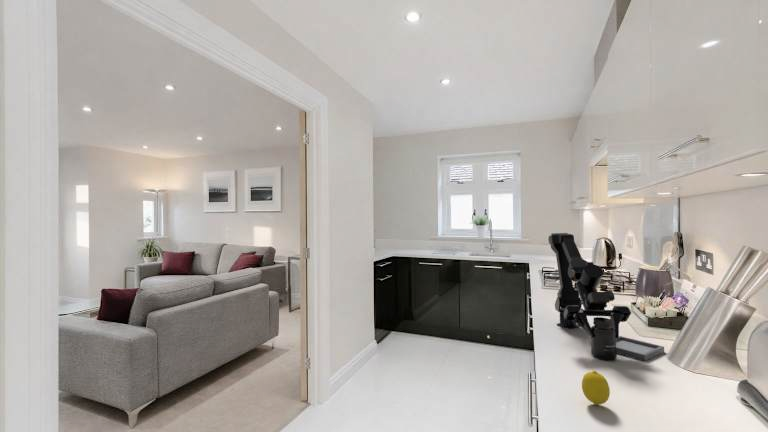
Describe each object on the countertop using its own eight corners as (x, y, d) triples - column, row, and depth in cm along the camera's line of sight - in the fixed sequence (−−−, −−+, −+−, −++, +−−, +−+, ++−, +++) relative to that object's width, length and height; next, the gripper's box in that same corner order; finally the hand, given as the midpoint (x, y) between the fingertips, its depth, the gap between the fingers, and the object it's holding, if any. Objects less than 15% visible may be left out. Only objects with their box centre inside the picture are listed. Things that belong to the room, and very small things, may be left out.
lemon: (599, 398, 81) (597, 365, 81) (616, 411, 75) (614, 375, 75) (577, 399, 80) (575, 366, 81) (592, 412, 75) (590, 376, 75)
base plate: (620, 340, 119) (619, 335, 119) (664, 352, 107) (664, 346, 107) (600, 348, 112) (599, 343, 112) (645, 361, 101) (644, 355, 101)
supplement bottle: (613, 363, 100) (610, 323, 101) (588, 356, 106) (586, 319, 106) (620, 357, 105) (617, 318, 105) (595, 351, 110) (593, 315, 110)
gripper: (564, 281, 112) (578, 323, 101) (626, 281, 108) (648, 325, 97) (558, 299, 119) (570, 341, 108) (616, 300, 115) (635, 343, 104)
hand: (605, 337), depth 104 cm, fingers closed on supplement bottle, 7 cm apart
